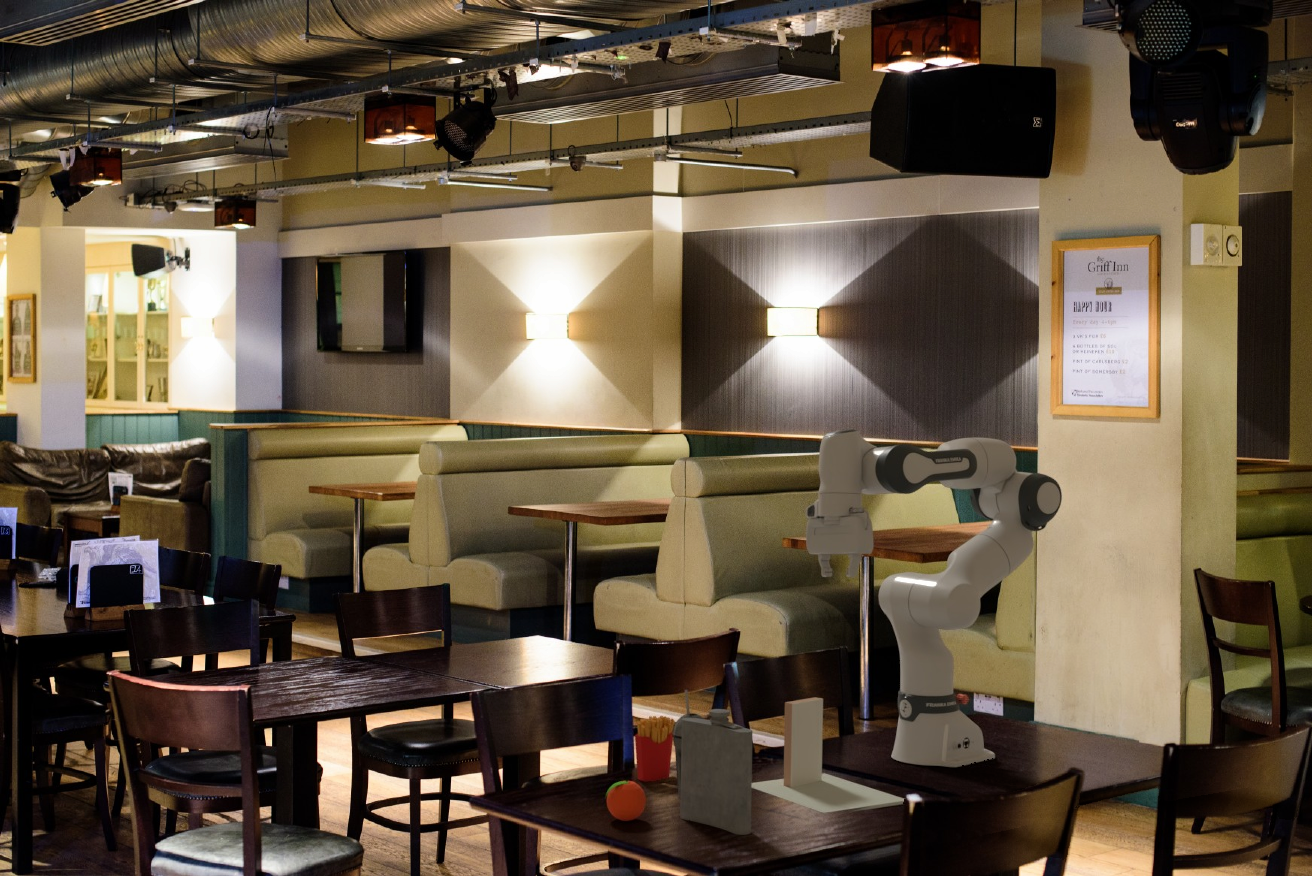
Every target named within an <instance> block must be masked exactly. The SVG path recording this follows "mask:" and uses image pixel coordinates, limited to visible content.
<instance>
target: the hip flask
mask: <svg viewBox="0 0 1312 876" xmlns="http://www.w3.org/2000/svg"><path fill="white" fill-rule="evenodd" d="M708 713H709V714H708V716H709V717H710V719H705V718H704V719H699V718H683V719H682V752H681V798H680V814H679V815H680V819H681V820H685V821H689V820H690V822H694V823H699V824H704V825H707V826H711V827H713V828H714V827H715V828H718V829H721V830H724V831H727V832H730V833H732V834H734V835H737V836H738V835H740V836H743V835H749V834H751V833H752V789H753V788H752V783H753V781H752V780H753V730H752V729H749V728H746V727H743V726H742V725H739V724H736V723H733V722H730V721H729V720H730V719H729V717H730V716H731V714H730V713H731V711H730V710H729V709H726V708H725V709H724V708H723V709H722V708H713V709H709V711H708Z"/></svg>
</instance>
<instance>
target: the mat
mask: <svg viewBox="0 0 1312 876" xmlns="http://www.w3.org/2000/svg"><path fill="white" fill-rule="evenodd" d="M752 789H755V790H757V791H759V792H763V793H765V794H768V795H770V796H774V797H776V798H780V799H782V800H785V801H788V802H791V803H794V804H797V805H799V806H802V807H805V808H807V809H810V810H813V811H817V812H819V813H822V814H828V813H834V812H840V811H846V812H844V814H846V813H847V814H848V813H853V812H859V811H866V810H867V811H868V810H872V809H879V808H886V807H893V806H899V805H904V804H903V802H904V799H905V798H903V797H900V796H896V795H894V794H891V793H888V792H884V791H881V790H877V789H874V788H871V787H868V786H865V785H863V784H860V783H856V782H852V781H850V780H846V779H843V778H841V777H837V776H836V775H835V776H834V775H831V774H827V773H825V772H824V773H823V772H822V780H821V781H817V782H812V783H808V784H804V785H799V786H795V787H788V786H784V778H779V779H778V778H777V779H772V780H764V781H757V782H752ZM847 810H849V811H847Z"/></svg>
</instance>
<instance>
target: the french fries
mask: <svg viewBox="0 0 1312 876" xmlns="http://www.w3.org/2000/svg"><path fill="white" fill-rule="evenodd" d="M675 724H676V720H675V719H674V718H671V717H667V716H664V715H660V716H659V717H657V716H656V715H655V716H652V715H651V716H649V717H648V718H640V719H639V721H636V726H637V733H636V734H635V735H634V743H635V755H636V756H635V758H636V770H637V771H636V773H637V781H638V780H639V781H641V782H649V781H651V782H658V781H660V780H665V779H670V774H671V773H670V771H671V761H672V750H673V743H674V742H673V736H672V735H673V730H674V726H675ZM657 780H658V781H657Z"/></svg>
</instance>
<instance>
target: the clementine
mask: <svg viewBox="0 0 1312 876" xmlns="http://www.w3.org/2000/svg"><path fill="white" fill-rule="evenodd" d="M646 797H647V796H646V794H645V791H644V789H643V788H642V786H640V784H638V783H636V782H635V781H632V780H628V779H625V780H621V781H618V782H617V781H616V782H615V783H613V784H612V785H611V786H609V788H608V789H607V792H606V793H605V797H604V799H606V806H607V809H608V812H610V814H611V815H612V816H613V817H614V818H615V819H617V820H620V821H624V822H630V821H633V820H636V819H637V818H638V817H640V816H641V814H642V813H643V812H644V810H645V808H646V803H647V802H646V801H647V798H646Z"/></svg>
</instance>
